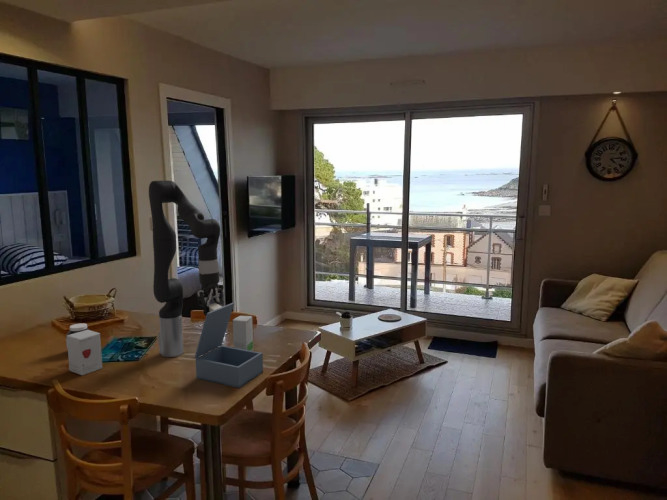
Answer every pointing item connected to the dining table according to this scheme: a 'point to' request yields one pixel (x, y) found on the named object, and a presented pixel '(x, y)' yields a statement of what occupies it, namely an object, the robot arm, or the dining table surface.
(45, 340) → the dining table surface
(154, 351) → the dining table surface
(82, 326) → the spread jar
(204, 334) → the carton flap
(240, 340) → the skincare box
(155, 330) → the dining table surface
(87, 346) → the supplement box
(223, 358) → the carton
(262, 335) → the dining table surface
